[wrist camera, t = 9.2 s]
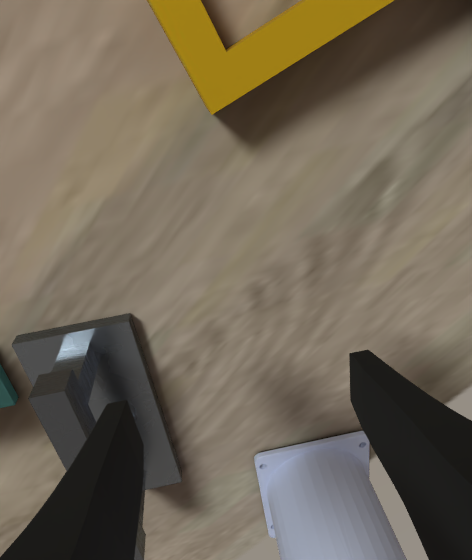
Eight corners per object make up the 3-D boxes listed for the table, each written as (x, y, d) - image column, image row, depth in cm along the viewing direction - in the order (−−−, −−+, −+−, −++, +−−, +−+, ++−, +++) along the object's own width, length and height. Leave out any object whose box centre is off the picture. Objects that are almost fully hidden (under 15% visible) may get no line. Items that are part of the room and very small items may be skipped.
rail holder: (181, 471, 28) (183, 552, 23) (94, 490, 28) (78, 575, 23) (130, 313, 22) (117, 380, 17) (16, 335, 22) (-27, 409, 17)
